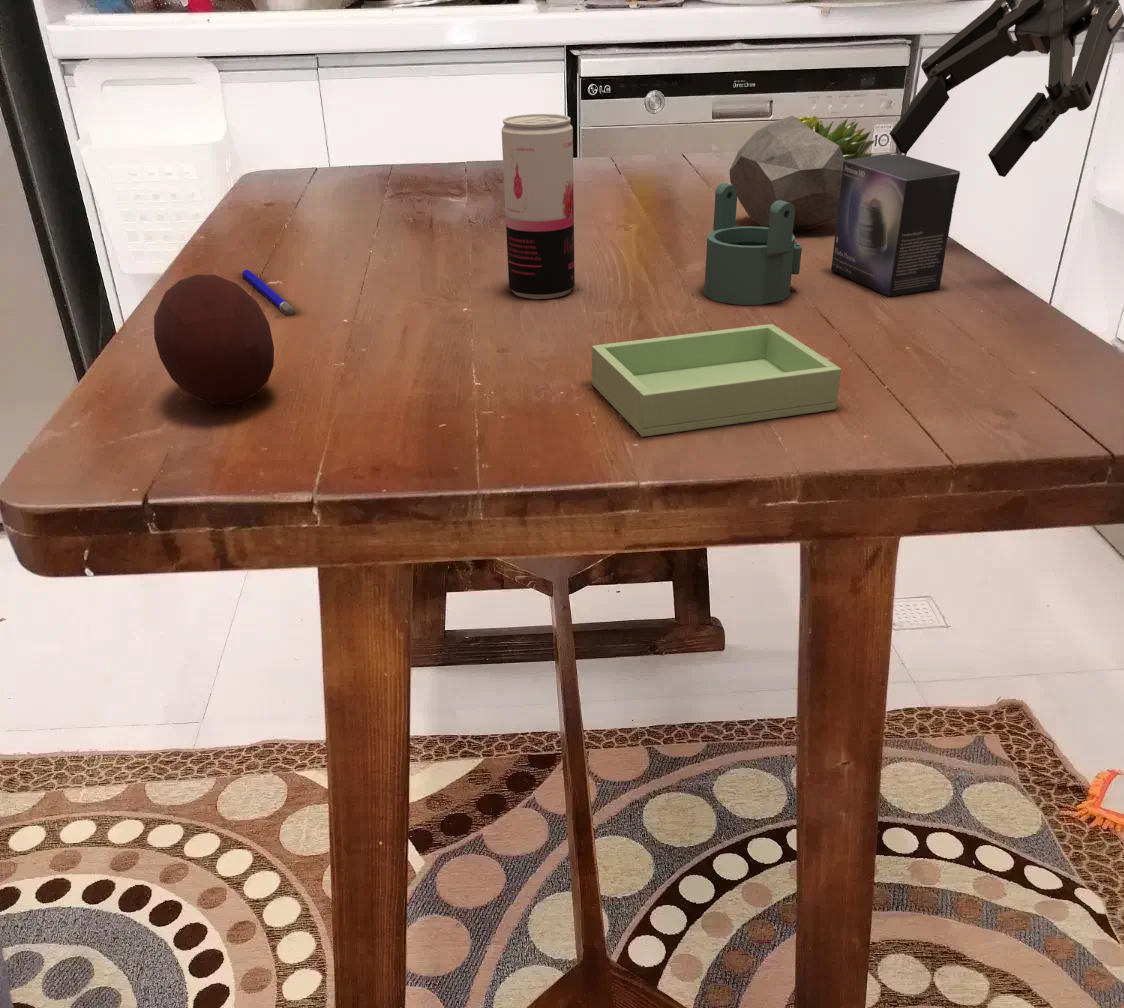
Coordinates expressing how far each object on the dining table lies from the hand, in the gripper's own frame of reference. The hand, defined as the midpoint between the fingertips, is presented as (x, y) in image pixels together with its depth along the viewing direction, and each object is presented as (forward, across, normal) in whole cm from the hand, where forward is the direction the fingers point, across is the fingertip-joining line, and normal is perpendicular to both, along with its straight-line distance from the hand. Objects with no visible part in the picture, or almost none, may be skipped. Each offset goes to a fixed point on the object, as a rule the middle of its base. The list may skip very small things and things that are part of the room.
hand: (944, 154), depth 106 cm
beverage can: (+34, +14, +18) cm, 41 cm away
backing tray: (+34, -19, +20) cm, 44 cm away
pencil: (+51, +28, +35) cm, 68 cm away
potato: (+58, 0, +43) cm, 72 cm away
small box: (+12, 0, -4) cm, 12 cm away
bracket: (+21, +3, +6) cm, 22 cm away
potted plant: (+7, +23, -9) cm, 25 cm away
